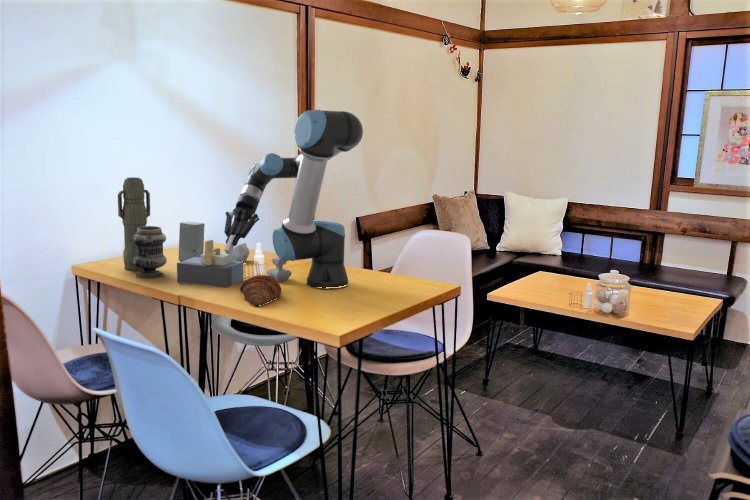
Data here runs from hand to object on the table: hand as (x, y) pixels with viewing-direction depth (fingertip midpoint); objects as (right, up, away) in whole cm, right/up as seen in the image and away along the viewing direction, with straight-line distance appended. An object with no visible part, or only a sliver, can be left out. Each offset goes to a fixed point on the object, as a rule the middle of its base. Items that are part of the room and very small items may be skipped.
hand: (227, 252), depth 232 cm
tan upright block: (-7, -4, +3) cm, 9 cm away
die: (-5, -4, +43) cm, 44 cm away
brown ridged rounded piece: (+14, -16, -12) cm, 24 cm away
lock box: (-8, -11, +8) cm, 16 cm away
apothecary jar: (-32, -9, +14) cm, 36 cm away
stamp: (+16, -11, +14) cm, 24 cm away
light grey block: (-6, -4, +8) cm, 10 cm away
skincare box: (-24, -4, +43) cm, 50 cm away
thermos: (-41, -7, +25) cm, 48 cm away
